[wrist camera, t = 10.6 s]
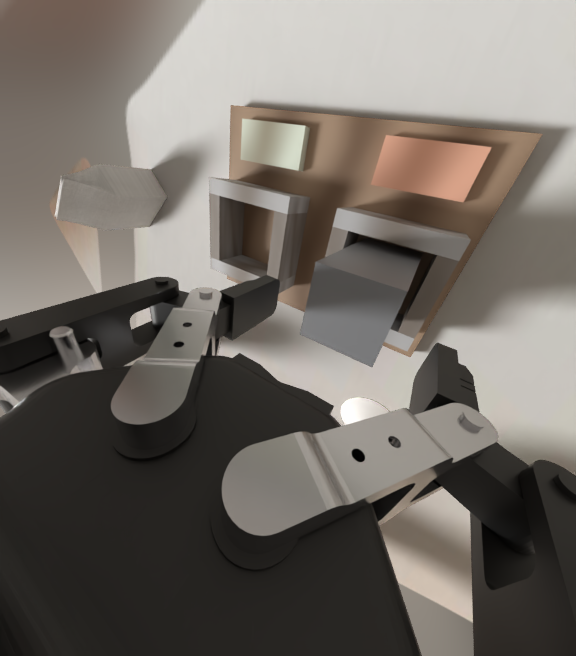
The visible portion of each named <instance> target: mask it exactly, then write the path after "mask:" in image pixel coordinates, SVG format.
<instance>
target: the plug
mask: <svg viewBox="0 0 576 656" xmlns="http://www.w3.org/2000/svg"><path fill="white" fill-rule="evenodd" d="M422 255H423V253H422V252H419V251H415V250H411V249H407V248H403V247H399V246H396V245H392V244H388V243H384V242H380V241H376V240H373V239H369V238H365V239H363V240H361V241H359V242H357V243H355V244H352V245H350V246H348V247H346V248H344V249H342V250H340V251H338V252H336V253H333V254H331V255H329V256H327V257H325V258H323V259H321V260H319V261H316V263H315V267H314V272H313V276H312V281H311V286H310V290H309V295H308V299H307V304H306V308H305V313H304V317H303V322H302V327H301V331H300V335H302V336H305V337H307V338H309V339H311V340H313V341H316V342H318V343H320V344H322V345H324V346H326V347H329V348H331V349H333V350H335V351H337V352H340V353H342V354H344V355H346V356H348V357H350V358H353V359H355V360H357V361H359V362H361V363H364V364H366V365H368V366H370V367H373V365H374V362H375V360H376V358H377V356H378V354H379V352H380V350H381V348H382V345H383V343H384V341H385V339H386V337H387V335H388V333H389V331H390V328H391V326H392V324H393V322H394V320H395V318H396V316H397V313H398V311H399V309H400V307H401V305H402V303H403V301H404V299H405V296H406V294H407V292H408V290H409V287H410V285H411V282H412V280H413V277H414V275H415V272H416V270H417V267H418V265H419V262H420V260H421V257H422Z"/></svg>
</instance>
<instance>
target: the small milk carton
mask: <svg viewBox="0 0 576 656" xmlns="http://www.w3.org/2000/svg"><path fill="white" fill-rule="evenodd" d="M166 198H167V196H166V194H165V192H164V191H163V189H162V187H161V186H160V184H159V182H158V181H157V179H156V177H155V175H154V174H153V172H152V170H151V169H142V168H132V167H122V166H114V165H103V164H97V165H95V166H92V167H90V168H87V169H85V170H82V171H80V172H76V173H72V174H67V175H61V180H60V186H59V192H58V199H57V205H56V212H55V217H57V220H62V221H68V222H73V223H78V224H82V225H86V226H89V227H93V228H97V229H101V230H117V229H129V228H141V227H149V226H150V224H151V223H152V221H153V220H154V218H155V216H156V215H157V213H158V211H159V210H160V208H161V206H162V205H163V203H164V202H165V200H166Z"/></svg>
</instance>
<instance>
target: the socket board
mask: <svg viewBox="0 0 576 656" xmlns="http://www.w3.org/2000/svg"><path fill="white" fill-rule="evenodd" d="M541 136H542V134H538V133H527V132H516V131H505V130H494V129H484V128H473V127H462V126H451V125H440V124H429V123H418V122H407V121H397V120H386V119H375V118H364V117H353V116H342V115H331V114H320V113H310V112H299V111H288V110H277V109H266V108H255V107H244V106H233V105H231V117H230V165H229V179H222V178H212V177H209V202H210V254H211V269H213V270H216V271H218V272H220V273H223V274H225V275H227V279H229V280H231V281H234V282H236V283H238V284H241V283H243V282H245V281H249V280H255V279H257V278H260V277H262V276H265V275H268V276H271V277H273V278H276V279H278V280H279V281H280V288H279V294H278V301H280V302H283V303H285V304H287V305H290V306H292V307H294V308H297V309H299V310H301V311H304V312H305V308H306V304H307V299H308V295H309V290H310V286H311V281H312V276H313V272H314V267H315V263H316V261H319V260H321V259H323V258H325V257H327V256H329V255H331V254H333V253H336V252H338V251H340V250H342V249H344V248H346V247H348V246H350V245H352V244H355V243H357V242H359V241H361V240H363V239H365V238H369V239H373V240H376V241H380V242H384V243H388V244H392V245H396V246H399V247H403V248H407V249H411V250H415V251H419V252H422V253H423V255H422V257H421V260H420V262H419V265H418V267H417V270H416V272H415V275H414V277H413V280H412V282H411V285H410V287H409V290H408V292H407V294H406V296H405V299H404V301H403V303H402V305H401V307H400V309H399V311H398V313H397V316H396V318H395V320H394V322H393V324H392V326H391V328H390V331H389V333H388V335H387V337H386V339H385V341H384V343H383V346H385V347H387V348H390V349H392V350H394V351H397V352H399V353H401V354H404V355H406V356H408V357H411V355H412V354H413V352H414V350H415V349H416V347H417V345H418V344H419V342H420V340H421V338H422V337H423V335H424V333H425V332H426V330H427V328H428V327H429V325H430V323H431V322H432V320H433V318H434V317H435V315H436V313H437V312H438V310H439V308H440V306H441V305H442V303H443V301H444V300H445V298H446V296H447V295H448V293H449V291H450V290H451V288H452V286H453V285H454V283H455V281H456V279H457V278H458V276H459V274H460V273H461V271H462V269H463V268H464V266H465V264H466V263H467V261H468V259H469V258H470V256H471V254H472V252H473V251H474V249H475V247H476V246H477V244H478V242H479V241H480V239H481V237H482V236H483V234H484V232H485V231H486V229H487V227H488V225H489V224H490V222H491V220H492V219H493V217H494V215H495V214H496V212H497V210H498V209H499V207H500V205H501V204H502V202H503V200H504V198H505V197H506V195H507V193H508V192H509V190H510V188H511V187H512V185H513V183H514V182H515V180H516V178H517V177H518V175H519V173H520V171H521V170H522V168H523V166H524V165H525V163H526V161H527V160H528V158H529V156H530V155H531V153H532V151H533V150H534V148H535V146H536V144H537V143H538V141H539V139H540V138H541Z"/></svg>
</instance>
